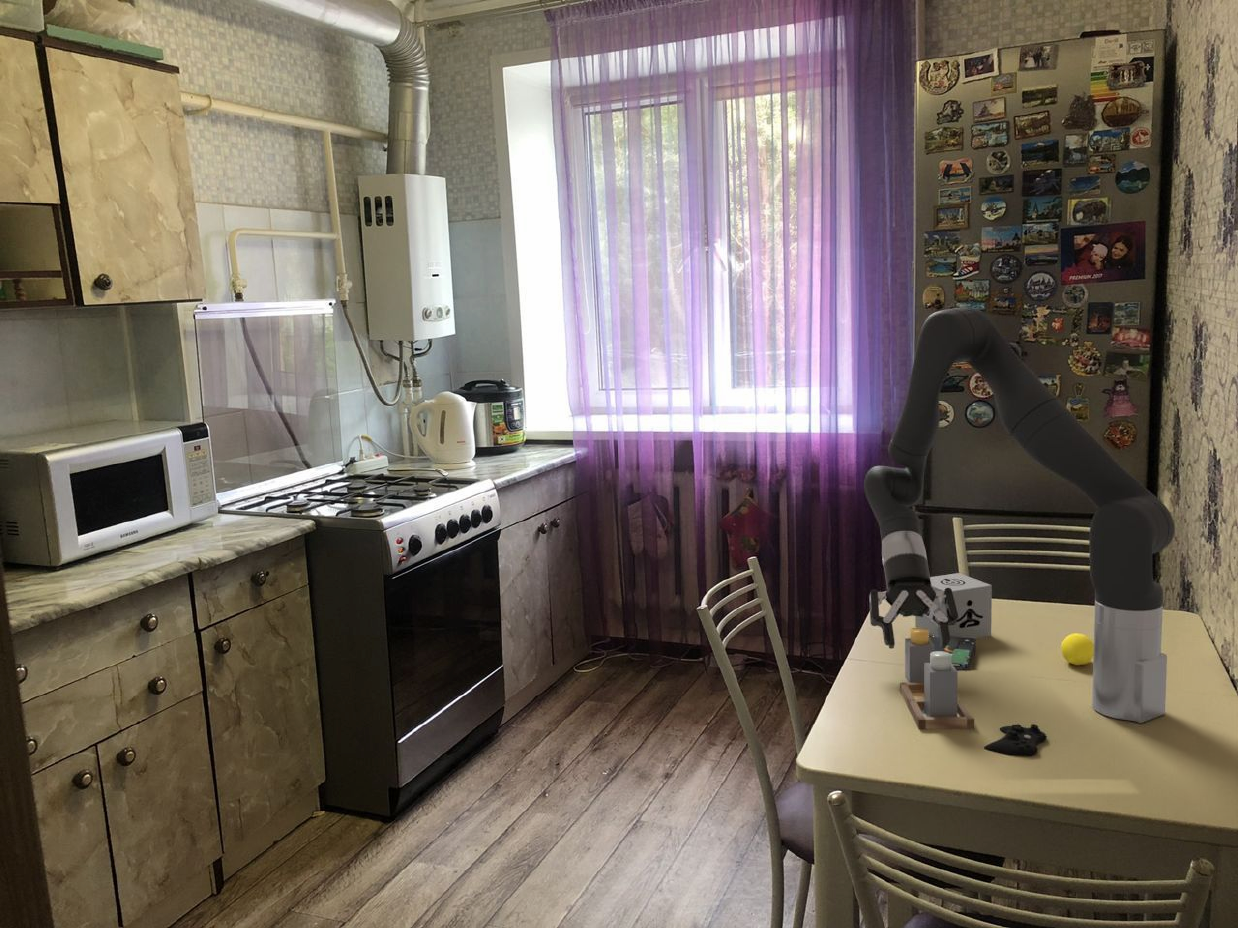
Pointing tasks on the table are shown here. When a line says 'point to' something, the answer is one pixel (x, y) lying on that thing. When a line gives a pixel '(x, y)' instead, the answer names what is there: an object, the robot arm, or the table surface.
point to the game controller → (1018, 741)
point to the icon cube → (963, 606)
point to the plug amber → (917, 654)
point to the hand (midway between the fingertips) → (918, 646)
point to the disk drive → (958, 651)
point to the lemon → (1077, 649)
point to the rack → (915, 703)
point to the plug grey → (940, 686)
